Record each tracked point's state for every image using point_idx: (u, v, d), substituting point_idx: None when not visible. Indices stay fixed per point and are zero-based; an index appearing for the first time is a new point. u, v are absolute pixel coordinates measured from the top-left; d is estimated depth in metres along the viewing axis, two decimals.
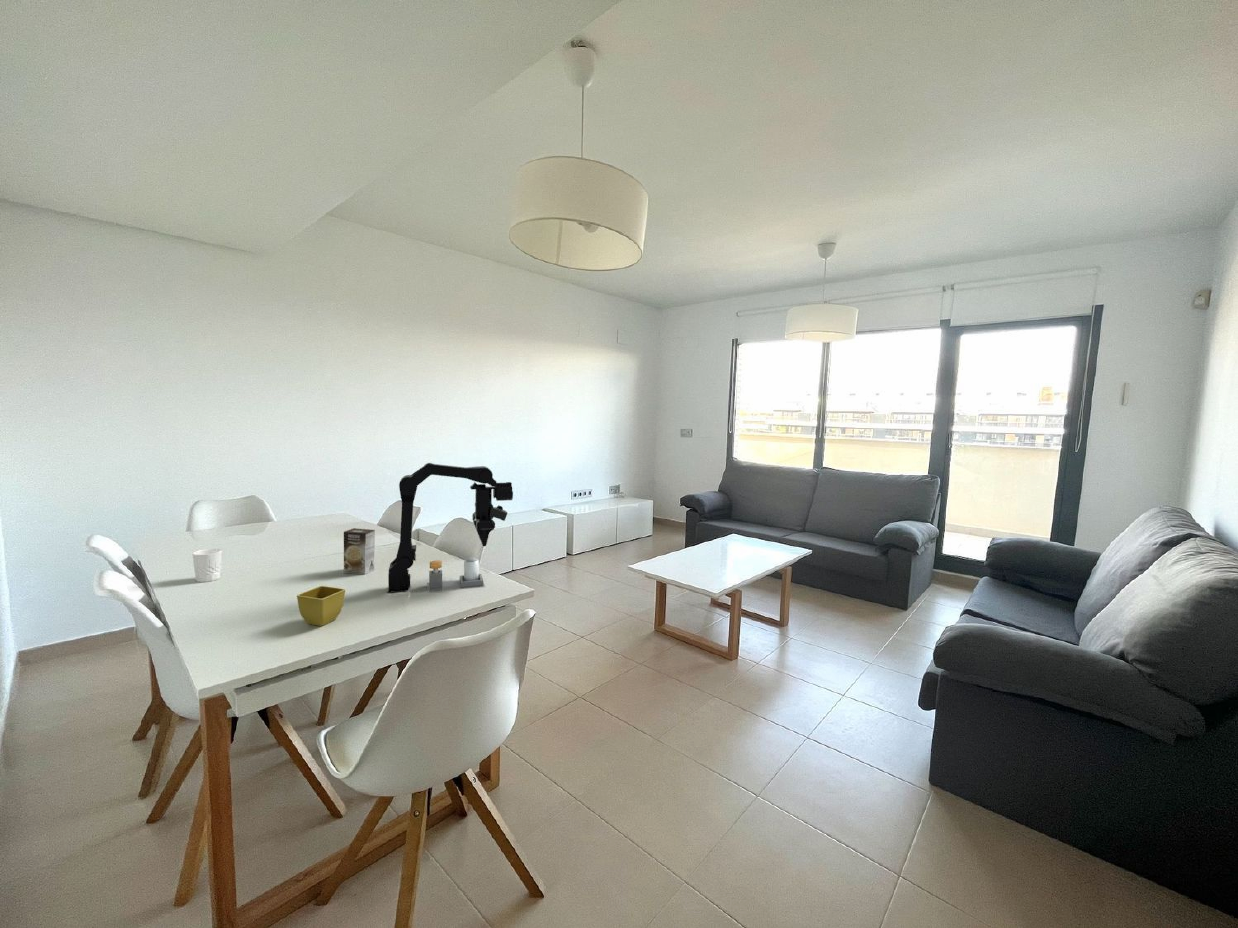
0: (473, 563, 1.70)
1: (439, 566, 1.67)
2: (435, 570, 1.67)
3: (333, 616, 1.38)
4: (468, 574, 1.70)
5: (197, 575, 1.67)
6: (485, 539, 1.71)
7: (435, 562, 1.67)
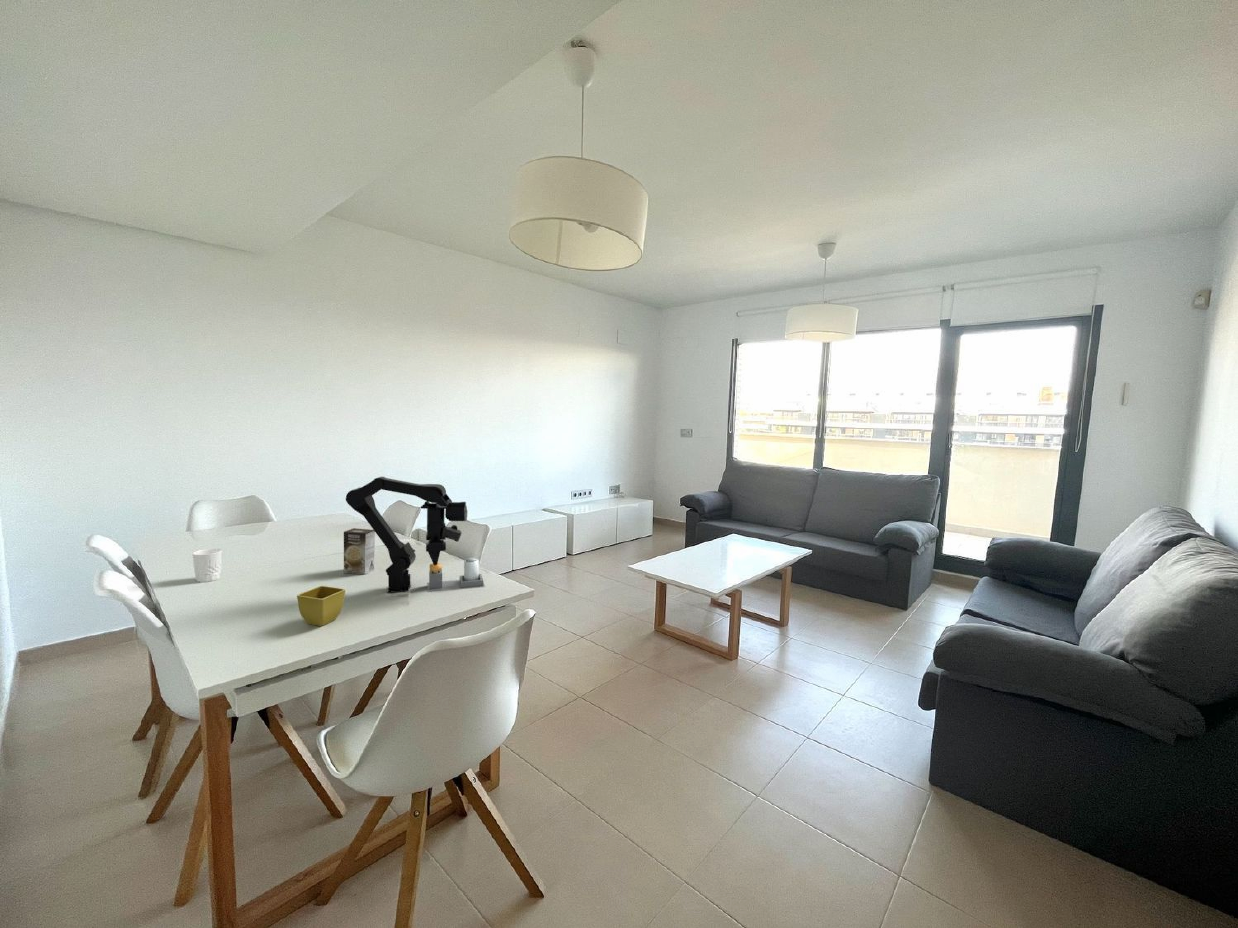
0: (473, 563, 1.70)
1: (439, 569, 1.67)
2: None
3: (333, 616, 1.38)
4: (468, 574, 1.70)
5: (197, 575, 1.67)
6: (436, 558, 1.67)
7: (435, 565, 1.67)
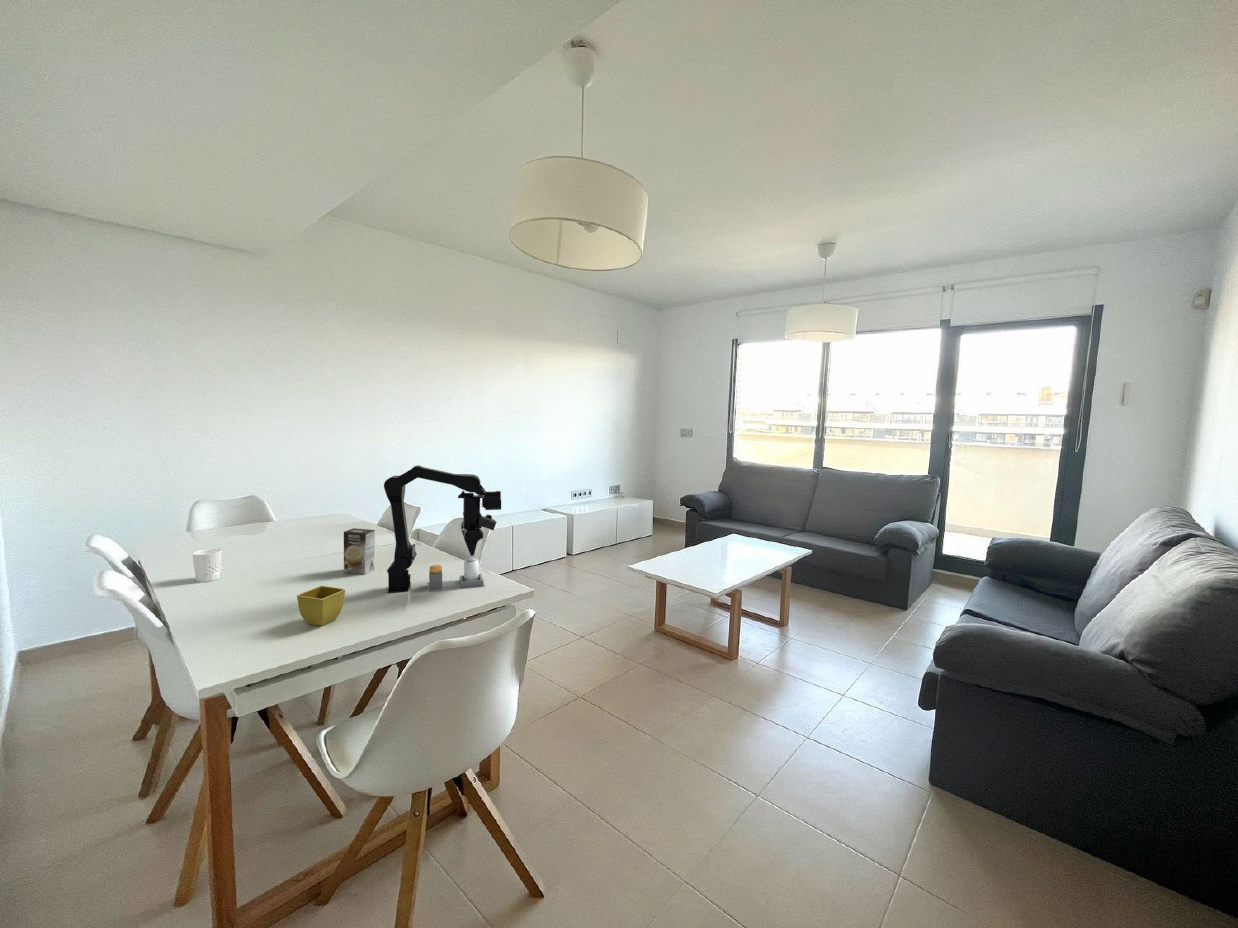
0: (473, 563, 1.70)
1: (439, 571, 1.67)
2: None
3: (333, 616, 1.38)
4: (468, 574, 1.70)
5: (197, 575, 1.67)
6: (473, 548, 1.68)
7: (435, 567, 1.67)
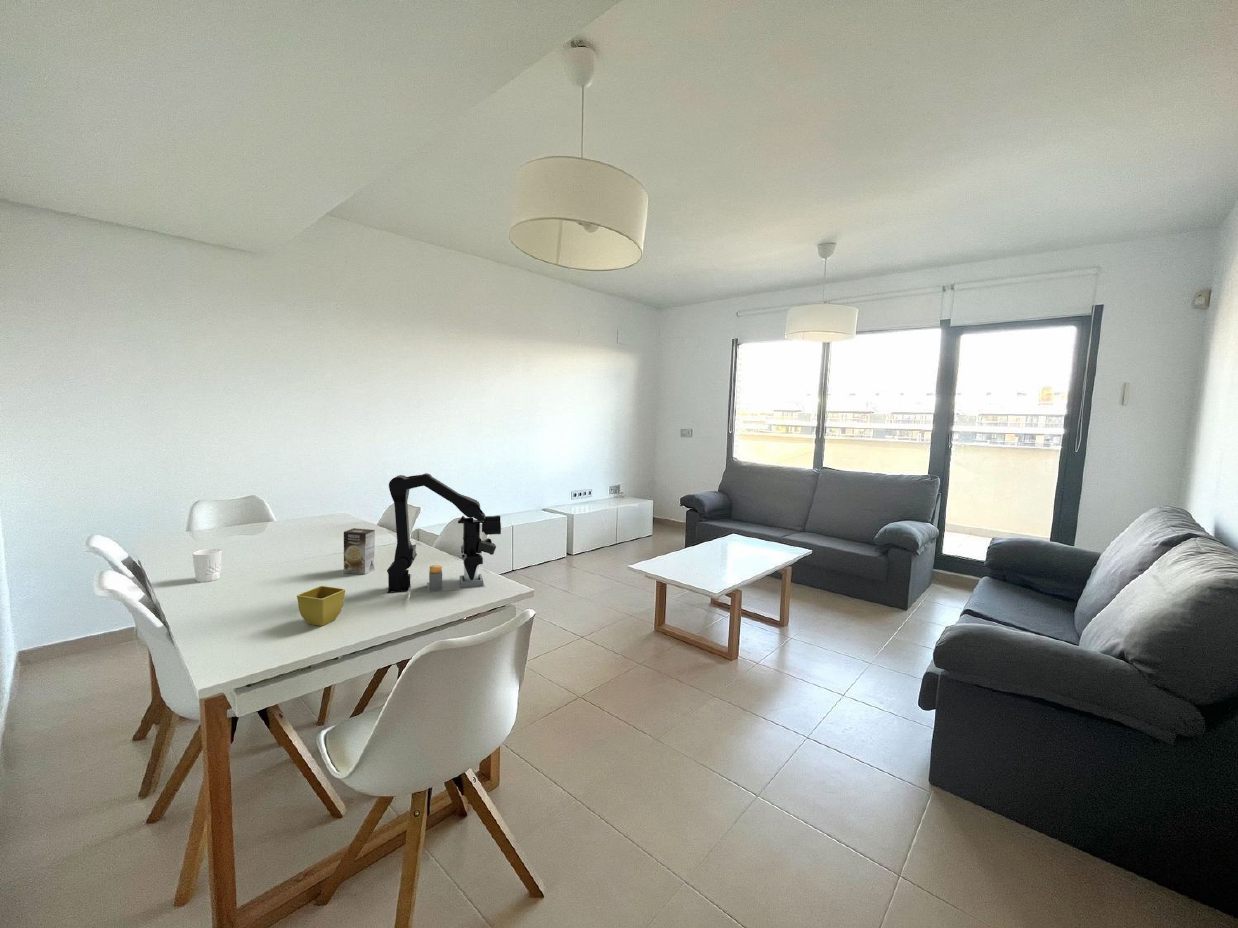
0: None
1: (439, 571, 1.67)
2: None
3: (333, 616, 1.38)
4: None
5: (197, 575, 1.67)
6: (472, 573, 1.69)
7: (435, 567, 1.67)
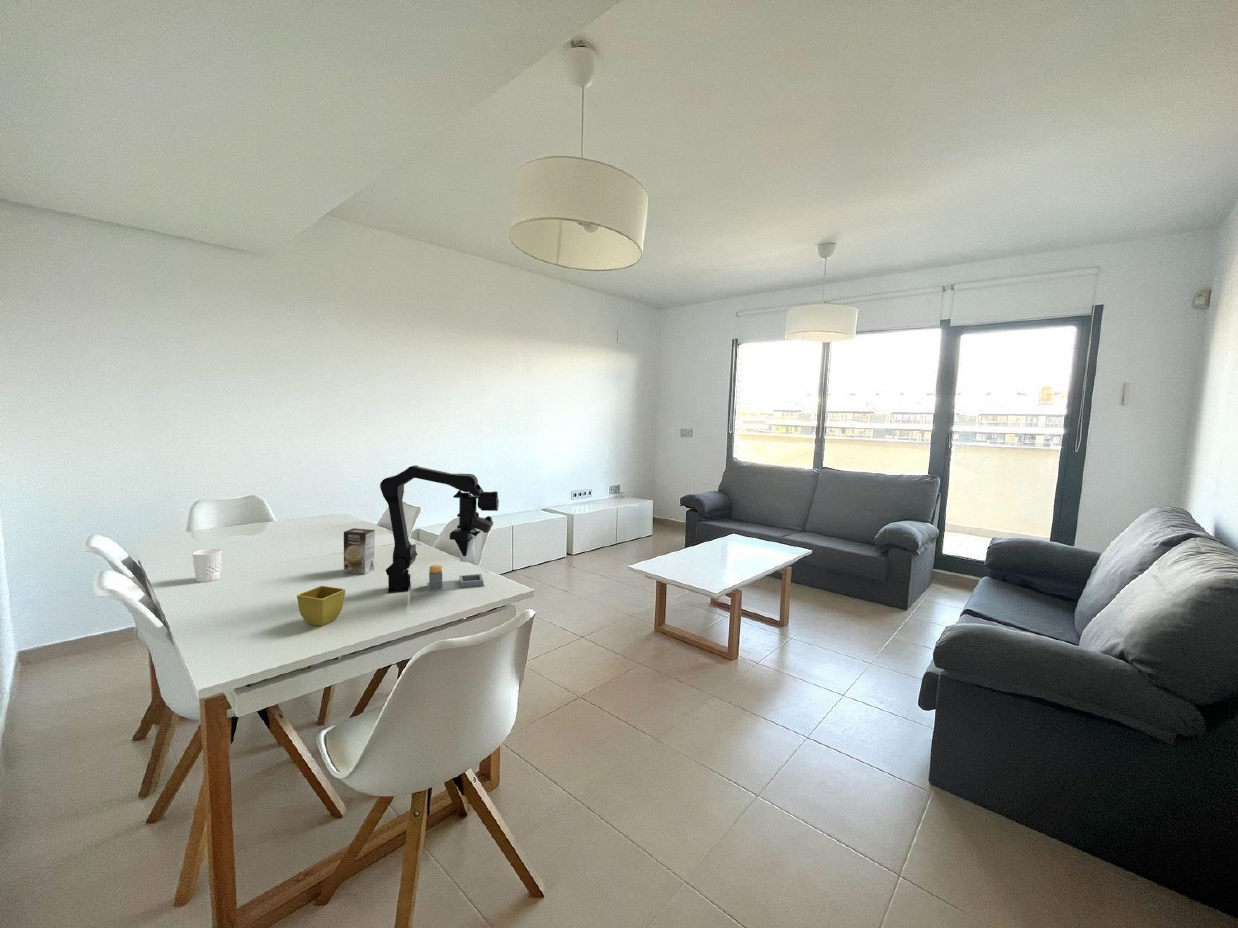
0: None
1: (439, 571, 1.67)
2: None
3: (333, 616, 1.38)
4: None
5: (197, 575, 1.67)
6: (464, 549, 1.65)
7: (435, 567, 1.67)
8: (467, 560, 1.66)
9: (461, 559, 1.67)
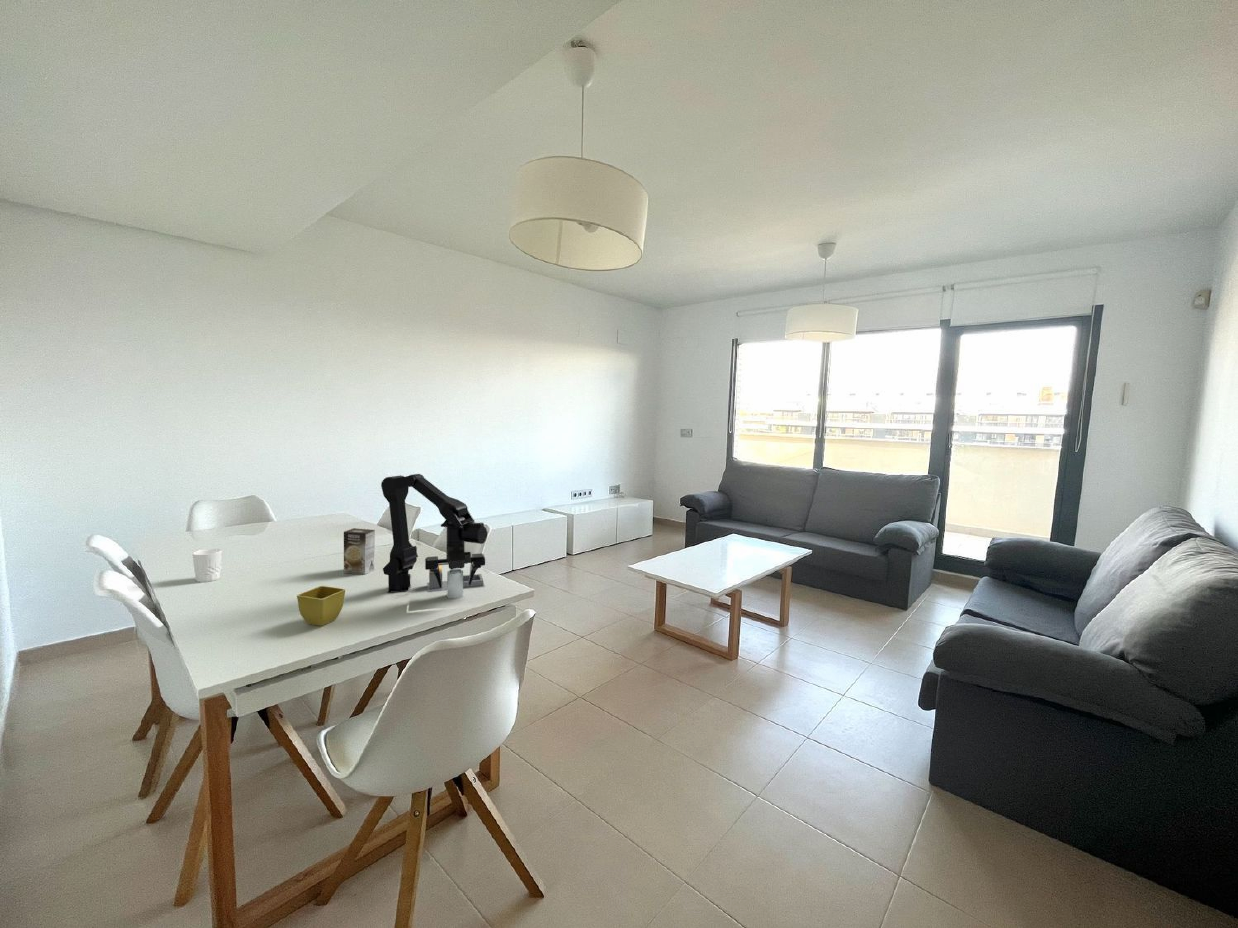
0: (447, 574, 1.58)
1: None
2: None
3: (333, 616, 1.38)
4: None
5: (197, 575, 1.67)
6: None
7: None
8: (447, 596, 1.59)
9: None
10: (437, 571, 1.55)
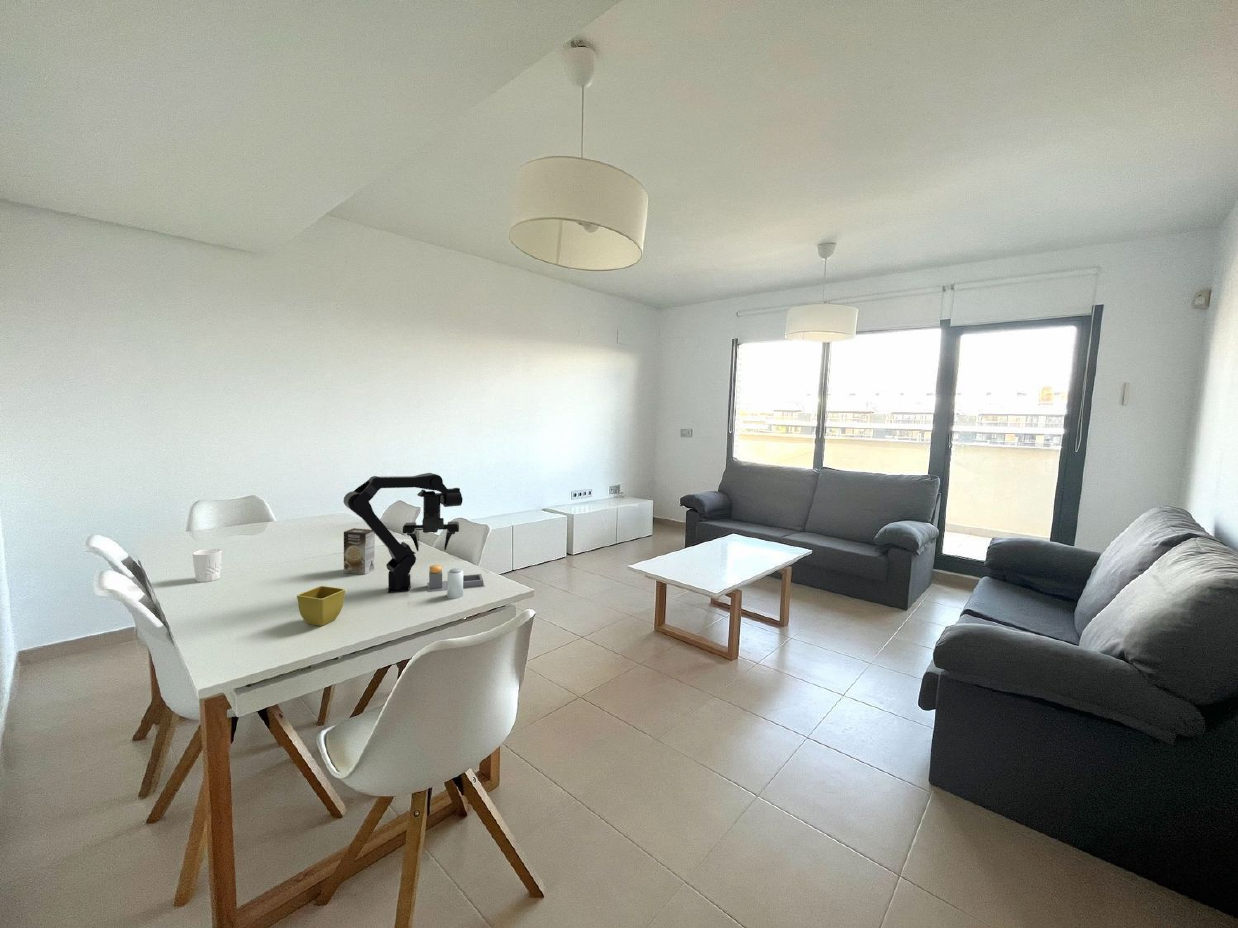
0: (448, 573, 1.58)
1: (439, 571, 1.67)
2: None
3: (333, 616, 1.38)
4: None
5: (197, 575, 1.67)
6: (415, 544, 1.71)
7: (435, 567, 1.67)
8: (447, 595, 1.59)
9: None
10: (414, 535, 1.69)
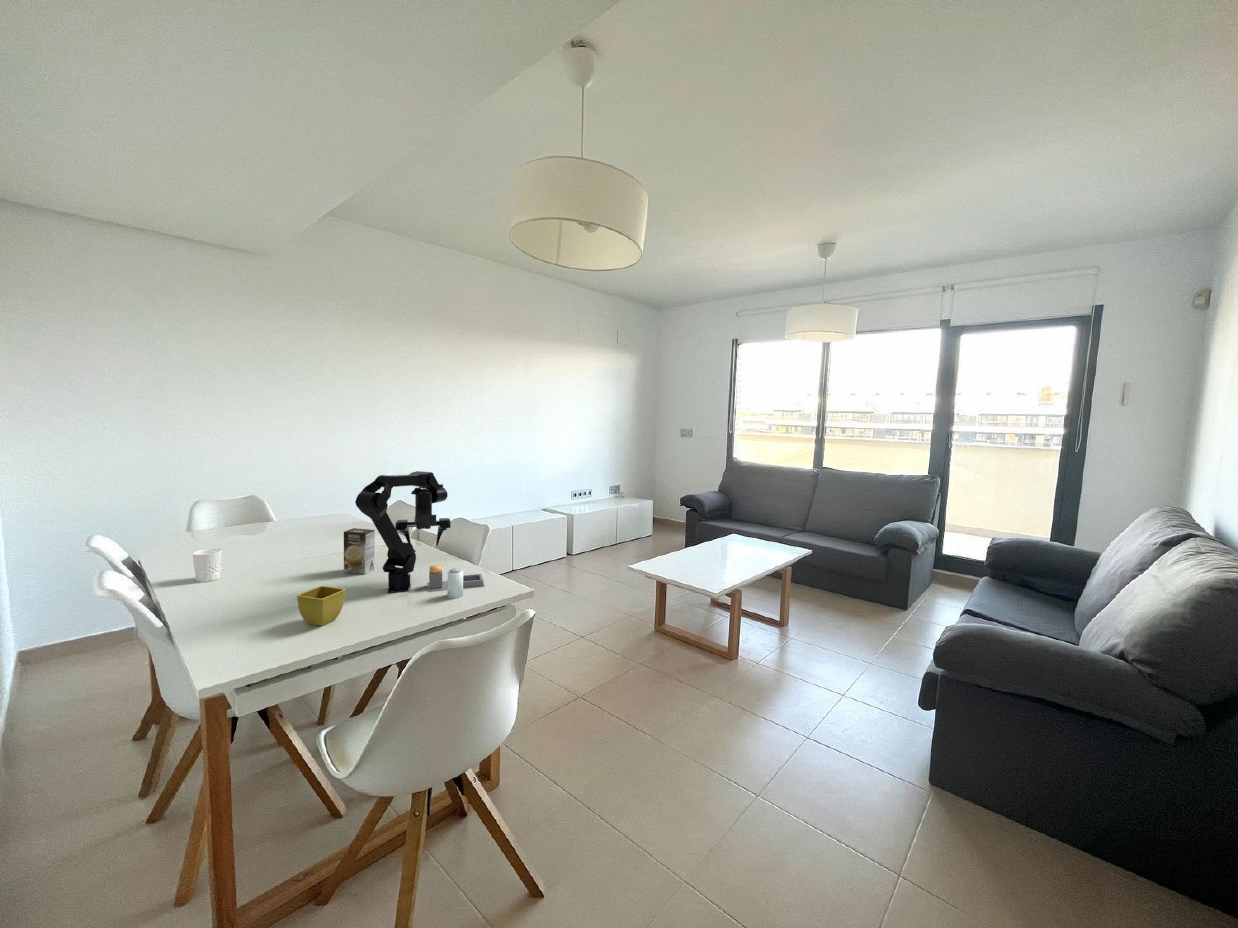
0: (448, 573, 1.59)
1: (439, 571, 1.67)
2: None
3: (333, 616, 1.38)
4: None
5: (197, 575, 1.67)
6: None
7: (435, 567, 1.67)
8: (447, 595, 1.59)
9: None
10: (406, 532, 1.73)
